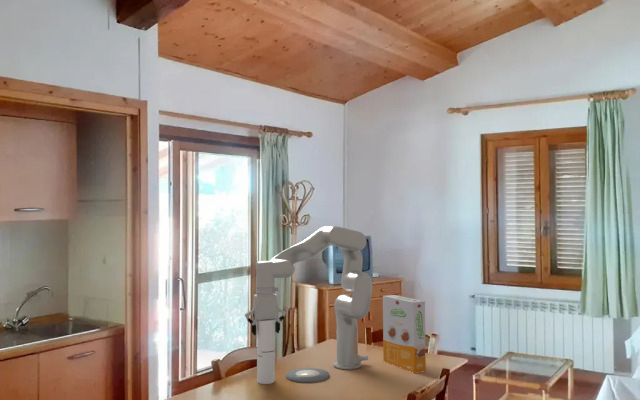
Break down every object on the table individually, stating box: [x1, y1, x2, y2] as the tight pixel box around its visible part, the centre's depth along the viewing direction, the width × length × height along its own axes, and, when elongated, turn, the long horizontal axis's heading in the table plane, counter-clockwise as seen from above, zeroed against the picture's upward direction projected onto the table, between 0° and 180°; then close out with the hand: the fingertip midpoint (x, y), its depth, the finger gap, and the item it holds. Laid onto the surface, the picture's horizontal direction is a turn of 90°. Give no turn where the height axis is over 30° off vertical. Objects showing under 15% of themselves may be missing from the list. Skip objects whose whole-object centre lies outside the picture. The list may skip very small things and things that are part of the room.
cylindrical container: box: [256, 319, 276, 385], centre depth 225 cm, size 7×7×25 cm
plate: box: [285, 367, 330, 384], centre depth 231 cm, size 18×18×1 cm
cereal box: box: [382, 294, 427, 374], centre depth 246 cm, size 22×6×30 cm, turn 28°
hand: (265, 333), depth 225 cm, fingers open, 9 cm apart
